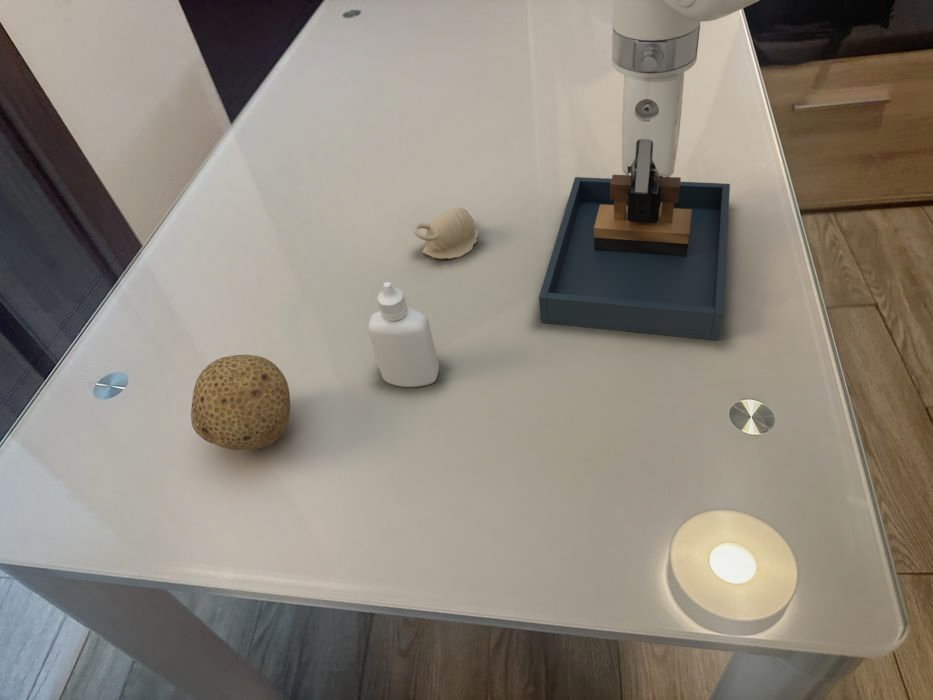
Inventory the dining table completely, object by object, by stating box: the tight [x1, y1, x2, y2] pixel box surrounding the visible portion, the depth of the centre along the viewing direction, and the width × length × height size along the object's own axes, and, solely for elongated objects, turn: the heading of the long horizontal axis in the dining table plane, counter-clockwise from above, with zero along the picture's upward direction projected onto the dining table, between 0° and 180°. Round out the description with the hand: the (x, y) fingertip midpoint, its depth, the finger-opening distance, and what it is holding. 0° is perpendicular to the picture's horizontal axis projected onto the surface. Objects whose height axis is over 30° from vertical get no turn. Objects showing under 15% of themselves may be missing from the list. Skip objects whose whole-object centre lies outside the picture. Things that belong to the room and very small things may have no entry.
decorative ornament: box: [413, 207, 479, 260], centre depth 82 cm, size 4×8×5 cm, turn 122°
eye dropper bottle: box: [367, 281, 440, 388], centre depth 67 cm, size 4×6×12 cm
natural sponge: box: [190, 354, 292, 452], centre depth 64 cm, size 9×9×10 cm
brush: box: [594, 174, 692, 256], centre depth 77 cm, size 10×4×8 cm, turn 74°
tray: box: [538, 176, 731, 341], centre depth 77 cm, size 18×22×4 cm
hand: (644, 212), depth 77 cm, fingers closed on brush, 2 cm apart
